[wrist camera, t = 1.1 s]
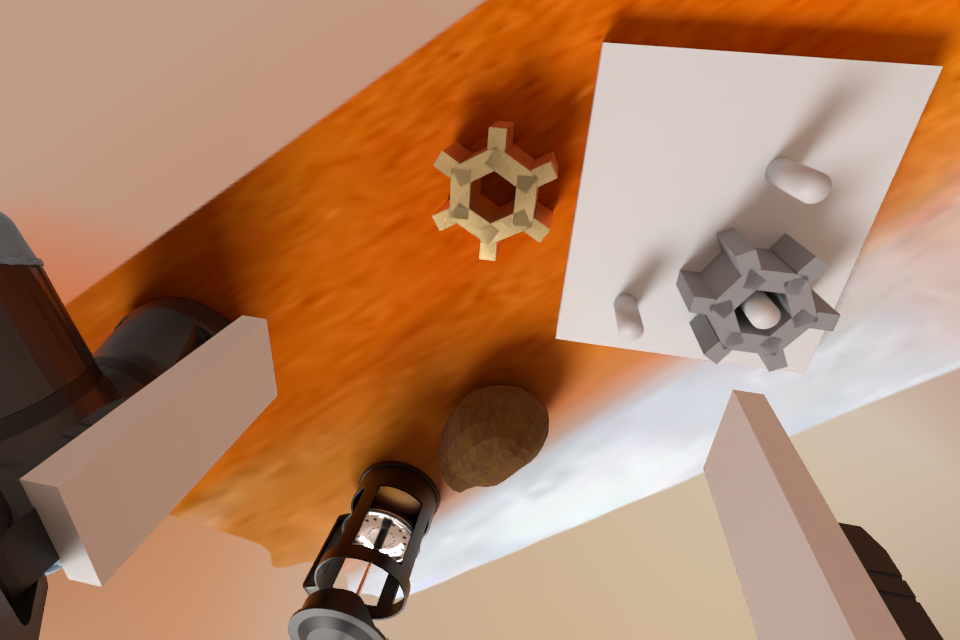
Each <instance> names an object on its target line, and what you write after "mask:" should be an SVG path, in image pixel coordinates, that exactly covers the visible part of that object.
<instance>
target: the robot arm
mask: <svg viewBox="0 0 960 640" xmlns="http://www.w3.org/2000/svg"><path fill="white" fill-rule="evenodd" d="M42 266H44V263H43V261H42V260H41V259H39V258H37V257H36V256H35V254H34V253H33V251H32V250H31V248H30V247H29V246H28V244H27V243H26V241H25V240H24V238H23V237H22V235H21V233H20V232H19V230H18V229H17V227H16V225H15V224H14V223H13V222H12V220H11V219H10V218H9V217H7V216H6V215H5V214H3V213H2V212H0V640H38V639H39V634H40V628H41V622H42V617H43V612H44V606H45V601H46V595H47V590H48V583H47V577H46V576H47V575H50V574H52V573H54V572H56V571H58V570H59V569H61V568H62V567H63V569H64V571H65V573H66V575H67V577H68V579H71V580H75V581H79V582H84V583H88V584H92V585H97V586H101V587H102V586H103V585H104V584H105V583H106V582H107V581H108V580H109V578H111V576H112V575H113V574H114V573H115V572H116V571H117V570H118V569H119V568H120V567H121V566H122V564H123V563H124V562H125V561H126V560H127V559H128V558H129V557H130V556H131V555H132V554H133V552H134V551H135V550H136V549H137V548H138V547H139V546H140V545H141V544H142V543H143V542H144V540H145V539H146V538H147V537H148V536H149V535H150V534H151V533H152V532H153V531H154V530H155V528H156V527H157V526H158V525H159V524H160V523H161V522H162V521H163V520H164V519H165V517H166V516H167V515H168V514H169V513H170V512H171V511H172V510H173V509H174V508H175V507H176V506H177V504H178V503H179V502H180V501H181V500H182V499H183V498H184V497H185V496H186V495H187V494H188V492H189V491H190V490H191V489H192V488H193V487H194V486H195V485H196V484H197V483H198V482H199V480H200V479H201V478H202V477H203V476H204V475H205V474H206V473H207V472H208V471H209V470H210V468H211V467H212V466H213V465H214V464H215V463H216V462H217V461H218V460H219V459H220V458H221V456H222V455H223V454H224V453H225V452H226V451H227V450H228V449H229V448H230V447H231V446H232V444H233V443H234V442H235V441H236V440H237V439H238V438H239V437H240V436H241V435H242V434H243V432H244V431H245V430H246V429H247V428H248V427H249V426H250V425H251V424H252V423H253V422H254V420H255V419H256V418H257V417H258V416H259V415H260V414H261V413H262V412H263V411H264V410H265V408H266V407H267V406H268V405H269V404H270V403H271V402H272V401H273V400H274V399H275V398H276V396H277V388H276V381H275V374H274V367H273V360H272V354H271V347H270V340H269V333H268V326H267V319H263V318H257V317H250V316H244V315H242V316H241V317H239V318H238V319H237V320H235V321H234V322H233V323H230V322H228V321H227V320H226V319H225V318H223V317H222V316H221V315H219V314H218V313H216V312H214V311H213V310H211V309H209V308H207V307H205V306H203V305H201V304H198V303H196V302H192V301H189V300H185V299H180V298H161V299H156V300H153V301H150V302H148V303H146V304H144V305H142V306H141V307H139V308H137V309H135V310H133V311H132V312H130V313H129V314H127V315H126V316H125V317H124V318H123V319H122V320H121V321H120V322H119V323H118V325H117V326H116V327H115V329H114V331H113V333H112V334H111V335H110V336H109V337H108V338H107V339H106V340H105V342H104V343H103V344H102V345H101V346H100V347H99V348H98V350H97V351H96V352H95V353H94V354H93V355H92V353H91V352H90V350H89V348H88V347H87V345H86V343H85V341H84V340H83V338H82V336H81V334H80V333H79V331H78V329H77V328H76V326H75V324H74V322H73V321H72V319H71V317H70V315H69V314H68V312H67V310H66V308H65V307H64V305H63V303H62V301H61V299H60V298H59V296H58V294H57V292H56V290H55V288H54V287H53V285H52V283H51V281H50V279H49V278H48V276H47V274H46V272H45V270H44V269H43V267H42ZM703 469H704V472H705V475H706V478H707V481H708V484H709V487H710V490H711V494H712V497H713V500H714V503H715V506H716V509H717V512H718V515H719V518H720V521H721V525H722V528H723V531H724V534H725V537H726V540H727V543H728V547H729V550H730V553H731V556H732V559H733V562H734V565H735V568H736V572H737V575H738V577H739V581H740V584H741V587H742V590H743V593H744V596H745V600H746V603H747V606H748V609H749V612H750V615H751V618H752V621H753V625H754V628H755V631H756V634H757V637H758V640H943V638H942V637H941V635H940V634H939V632H938V631H937V629H936V627H935V626H934V624H933V623H932V621H931V620H930V618H929V617H928V615H927V613H926V612H925V610H924V609H923V607H922V606H921V604H920V603H919V602H916V599H915V598H916V596H915V595H914V593H913V592H912V590H911V589H910V587H909V586H908V584H907V583H906V581H903V580H902V575H901V573H900V572H899V570H898V569H897V567H896V565H895V564H894V563H893V561H892V559H891V558H890V556H889V555H888V553H887V551H886V550H885V549H884V548H883V547H881V545H879V543H878V542H876V541H875V540H874V539H873V538H872V537H871V536H870V535H869V534H868V533H867V532H866V531H865V530H864V529H863V528H861V527H860V526H854V525H849V524H843V523H838V522H837V520H836V518H835V517H834V515H833V513H832V512H831V510H830V508H829V506H828V505H827V503H826V501H825V499H824V498H823V496H822V494H821V493H820V491H819V489H818V487H817V486H816V484H815V482H814V481H813V479H812V477H811V475H810V474H809V472H808V470H807V468H806V467H805V465H804V463H803V461H802V460H801V458H800V456H799V455H798V453H797V451H796V450H795V448H794V446H793V444H792V443H791V441H790V439H789V437H788V436H787V434H786V432H785V430H784V429H783V427H782V425H781V424H780V422H779V420H778V418H777V417H776V415H775V413H774V411H773V410H772V408H771V406H770V405H769V403H768V401H767V399H766V398H765V396H764V394H757V393H750V392H744V391H737V390H733V391H732V394H731V396H730V399H729V402H728V404H727V407H726V410H725V412H724V415H723V418H722V420H721V423H720V425H719V428H718V431H717V433H716V436H715V439H714V441H713V444H712V447H711V449H710V452H709V455H708V457H707V460H706V463H705V465H704V468H703Z"/></svg>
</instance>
